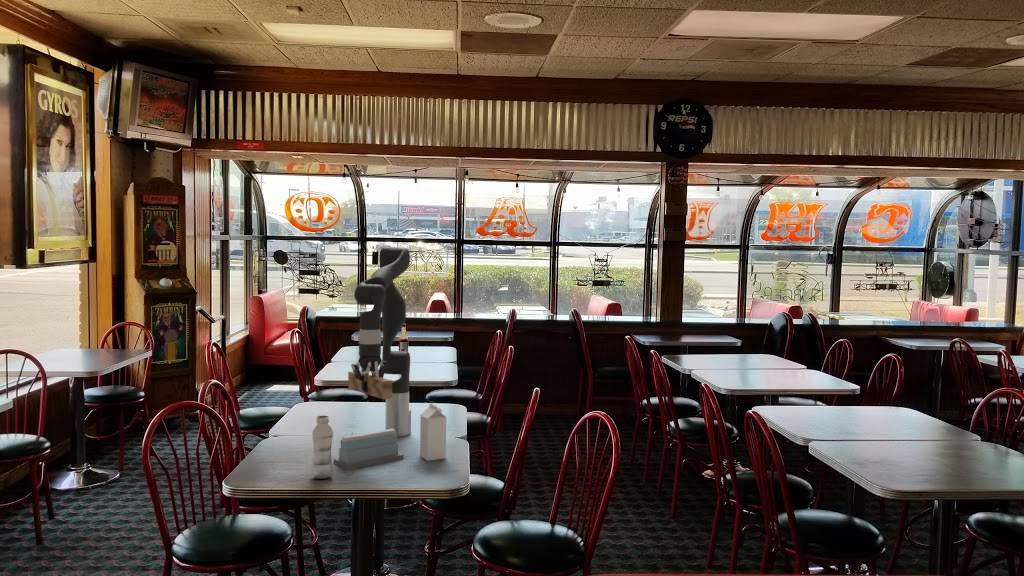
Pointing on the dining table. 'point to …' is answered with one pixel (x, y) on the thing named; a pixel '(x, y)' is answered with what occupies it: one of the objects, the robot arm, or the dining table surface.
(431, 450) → the milk carton
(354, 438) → the fulcrum ridge
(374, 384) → the walnut plank
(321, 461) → the plastic bottle
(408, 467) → the dining table surface
